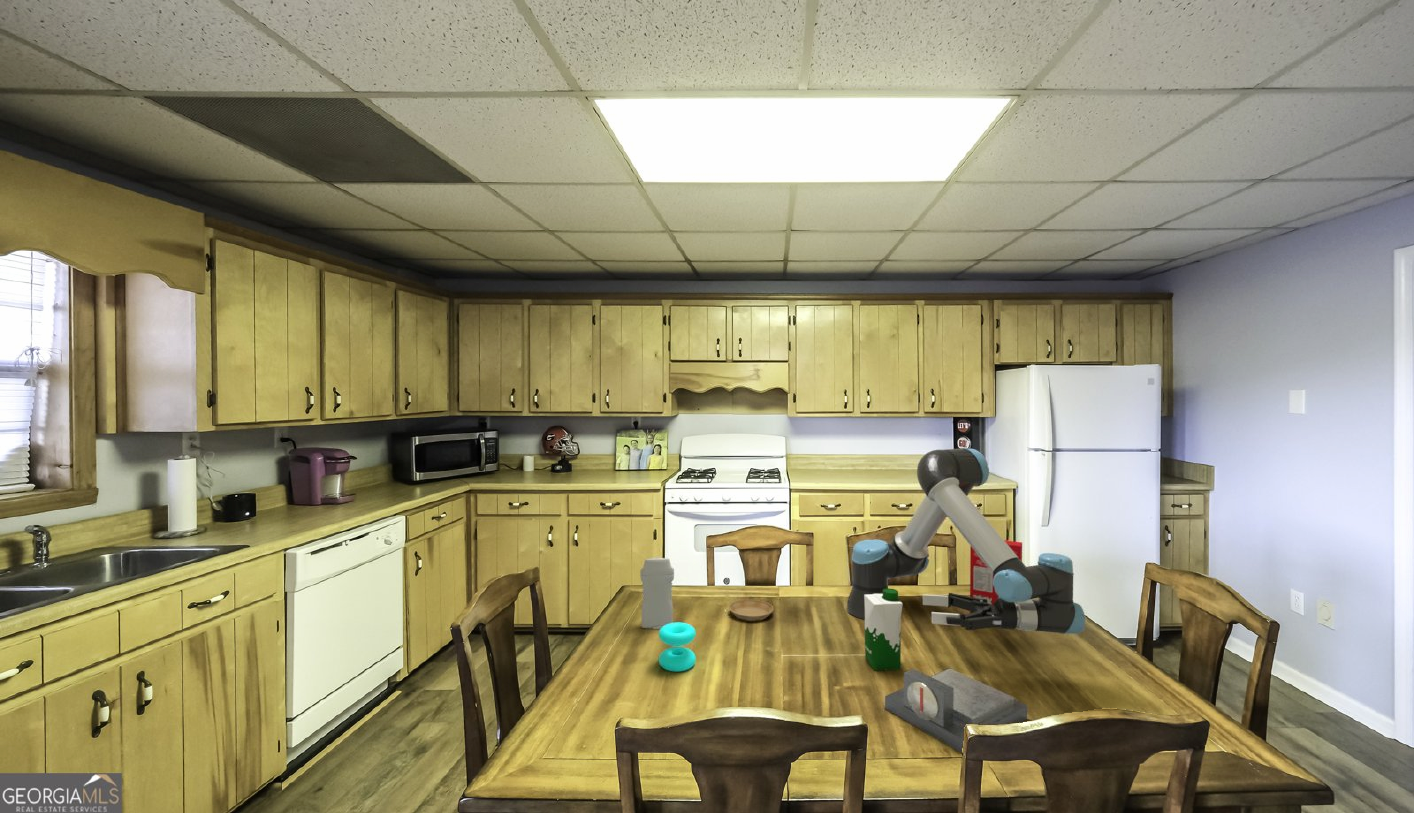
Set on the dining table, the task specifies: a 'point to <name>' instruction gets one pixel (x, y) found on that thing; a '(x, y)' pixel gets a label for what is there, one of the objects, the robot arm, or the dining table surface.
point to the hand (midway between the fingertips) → (927, 608)
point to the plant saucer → (751, 609)
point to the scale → (951, 705)
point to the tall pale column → (657, 593)
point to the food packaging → (986, 574)
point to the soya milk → (883, 630)
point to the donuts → (677, 656)
